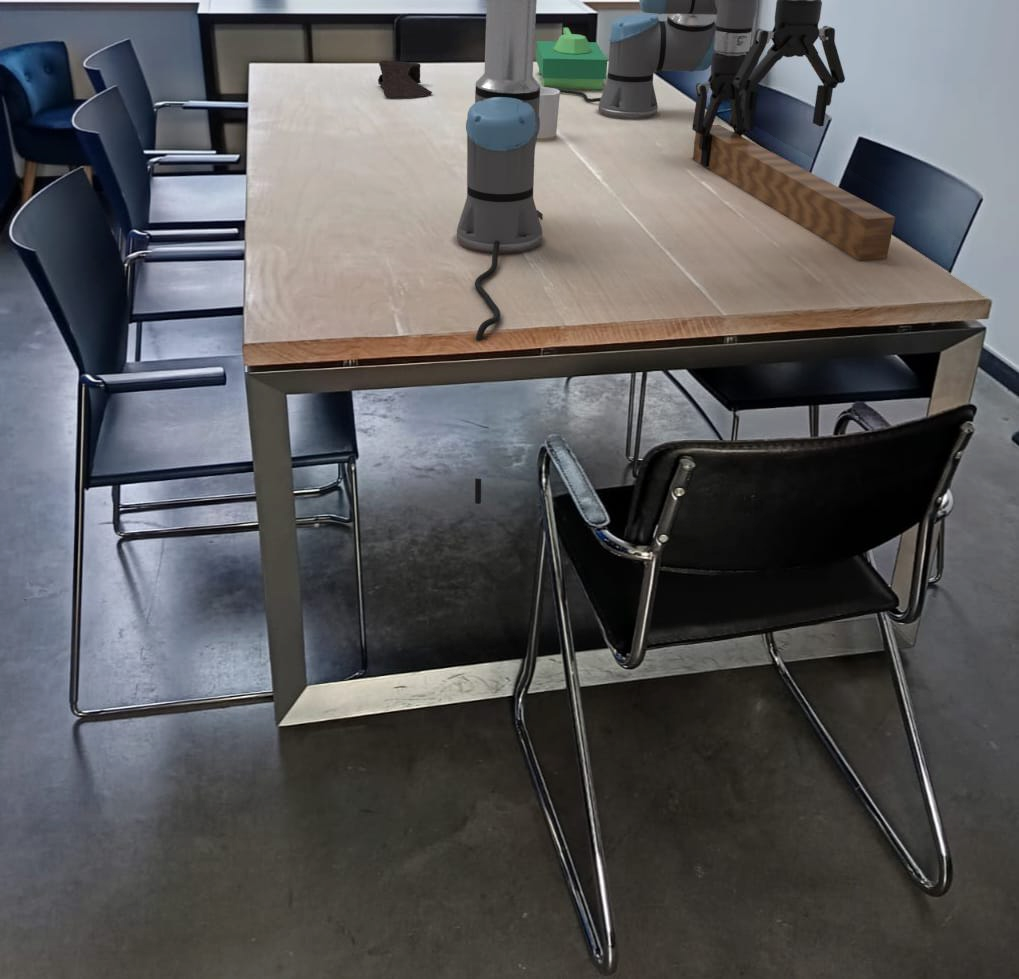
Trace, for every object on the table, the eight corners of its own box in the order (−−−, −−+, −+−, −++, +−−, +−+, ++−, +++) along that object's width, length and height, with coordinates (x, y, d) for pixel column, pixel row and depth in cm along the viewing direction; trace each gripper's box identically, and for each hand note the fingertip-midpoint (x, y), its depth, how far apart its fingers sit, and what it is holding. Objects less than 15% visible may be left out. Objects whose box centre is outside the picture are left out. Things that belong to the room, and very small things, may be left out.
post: (886, 258, 192) (895, 217, 188) (859, 260, 191) (867, 219, 187) (714, 157, 247) (718, 124, 243) (692, 159, 246) (696, 125, 242)
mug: (536, 129, 265) (537, 85, 260) (565, 136, 261) (567, 91, 255) (507, 137, 258) (508, 92, 253) (537, 144, 253) (538, 98, 248)
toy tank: (594, 24, 327) (608, 45, 298) (591, 67, 334) (605, 92, 304) (535, 23, 327) (543, 44, 297) (533, 66, 333) (541, 91, 303)
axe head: (443, 87, 294) (392, 77, 287) (436, 115, 299) (385, 106, 292) (421, 62, 307) (371, 52, 300) (414, 89, 311) (365, 80, 304)
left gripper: (855, -8, 190) (836, 118, 201) (722, -3, 185) (710, 125, 196) (878, -2, 184) (856, 127, 195) (740, 3, 179) (726, 135, 190)
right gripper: (698, 57, 223) (686, 171, 235) (779, 54, 228) (763, 166, 240) (682, 50, 229) (671, 162, 241) (762, 48, 234) (747, 157, 246)
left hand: (783, 126), depth 196 cm, fingers open, 13 cm apart
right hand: (717, 163), depth 241 cm, fingers closed on post, 6 cm apart
